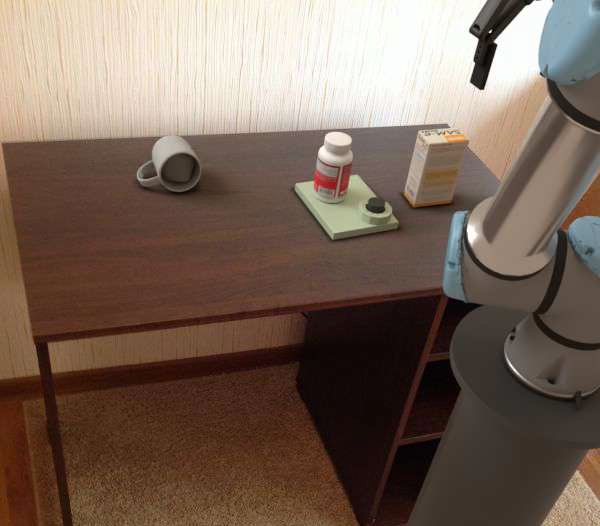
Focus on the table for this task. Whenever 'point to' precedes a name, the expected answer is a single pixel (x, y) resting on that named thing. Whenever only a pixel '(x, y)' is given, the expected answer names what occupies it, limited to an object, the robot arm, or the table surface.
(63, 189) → the table surface
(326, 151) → the pill bottle
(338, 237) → the scale
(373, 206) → the button
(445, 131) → the supplement box
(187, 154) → the ceramic mug
